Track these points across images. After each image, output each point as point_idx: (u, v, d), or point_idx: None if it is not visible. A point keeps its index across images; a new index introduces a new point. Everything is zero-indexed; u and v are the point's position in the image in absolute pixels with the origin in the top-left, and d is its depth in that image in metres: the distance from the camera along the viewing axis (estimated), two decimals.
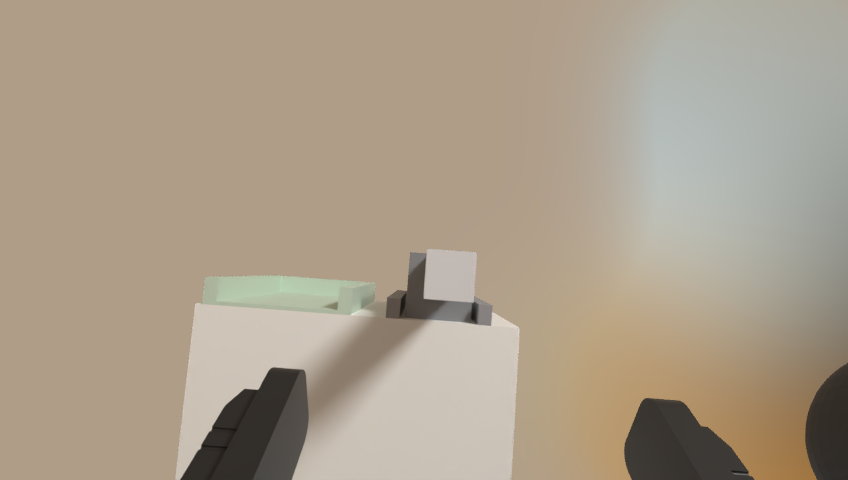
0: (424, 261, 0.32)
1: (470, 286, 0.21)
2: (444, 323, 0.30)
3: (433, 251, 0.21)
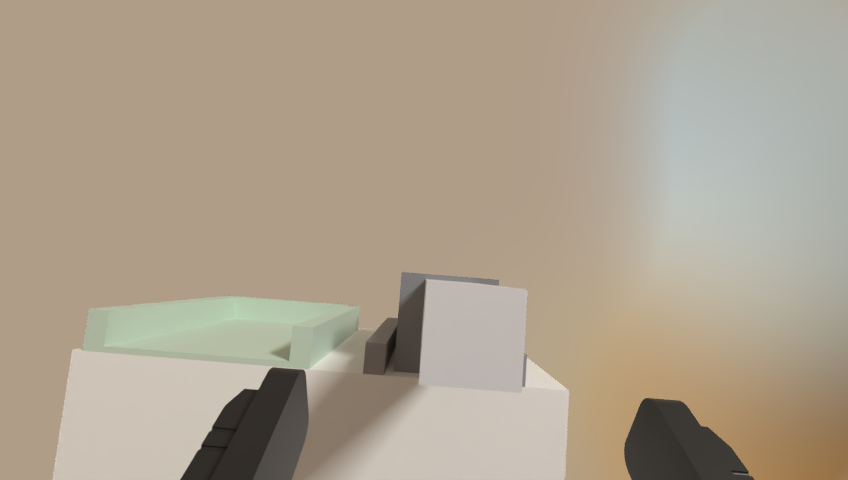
0: (423, 285, 0.21)
1: (515, 359, 0.10)
2: None
3: (439, 286, 0.10)
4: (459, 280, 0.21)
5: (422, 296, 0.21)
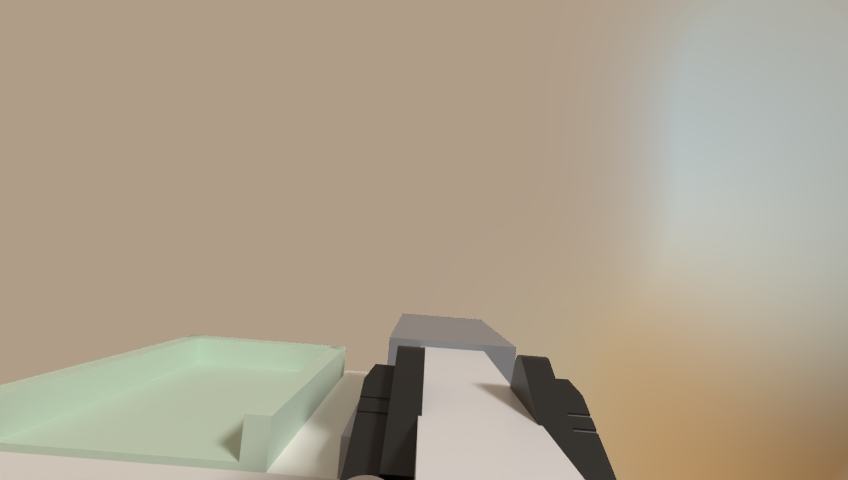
0: None
1: None
2: None
3: None
4: (464, 348, 0.16)
5: None
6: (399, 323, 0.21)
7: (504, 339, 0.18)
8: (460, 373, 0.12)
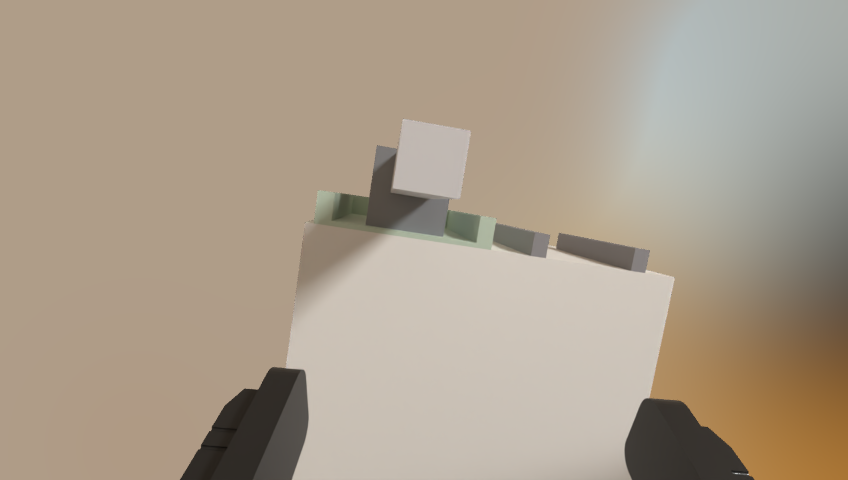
0: (393, 158, 0.26)
1: (457, 176, 0.15)
2: (595, 266, 0.27)
3: (411, 123, 0.15)
4: None
5: (392, 167, 0.26)
6: None
7: None
8: None
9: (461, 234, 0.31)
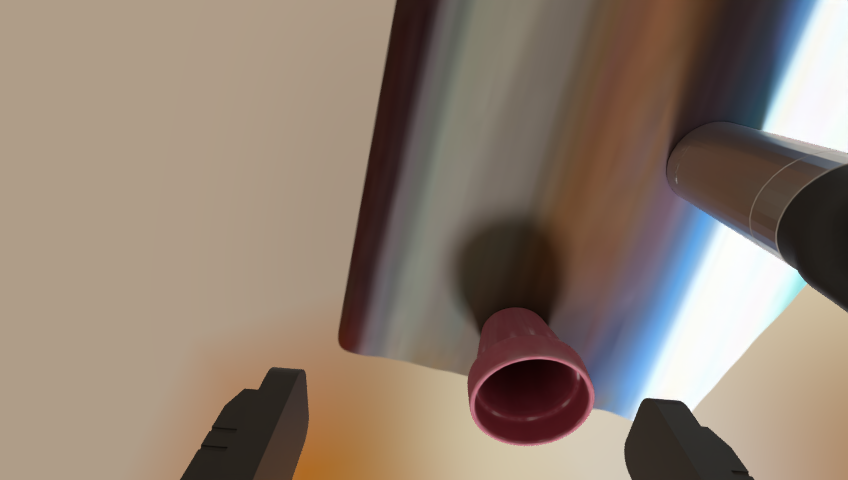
0: None
1: None
2: None
3: None
4: None
5: None
6: None
7: None
8: None
9: None
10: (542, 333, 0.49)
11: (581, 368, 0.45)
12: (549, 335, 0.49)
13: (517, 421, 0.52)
